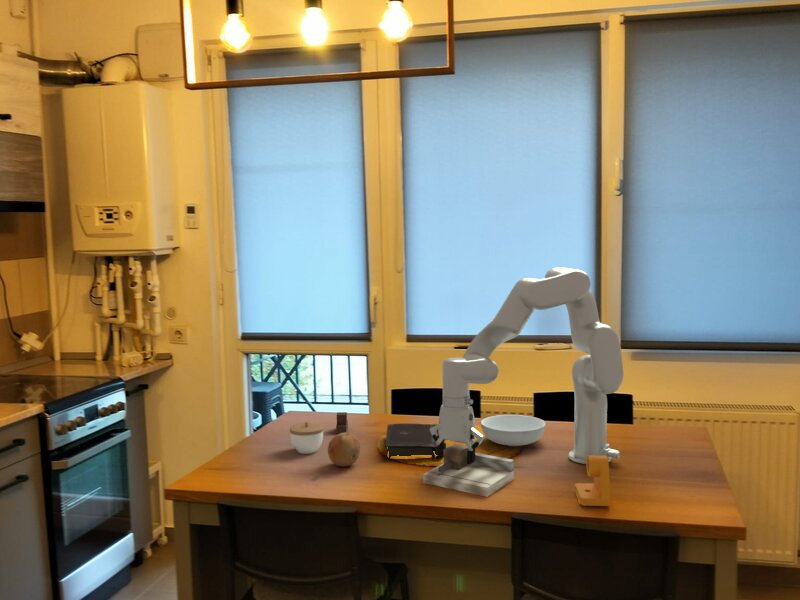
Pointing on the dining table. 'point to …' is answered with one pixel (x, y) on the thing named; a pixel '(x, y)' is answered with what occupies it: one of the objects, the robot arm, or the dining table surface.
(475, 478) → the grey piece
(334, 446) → the onion
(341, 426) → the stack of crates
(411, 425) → the diary
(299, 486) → the dining table surface
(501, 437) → the serving bowl
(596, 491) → the bracket
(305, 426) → the lidded jar
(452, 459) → the block
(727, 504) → the dining table surface
